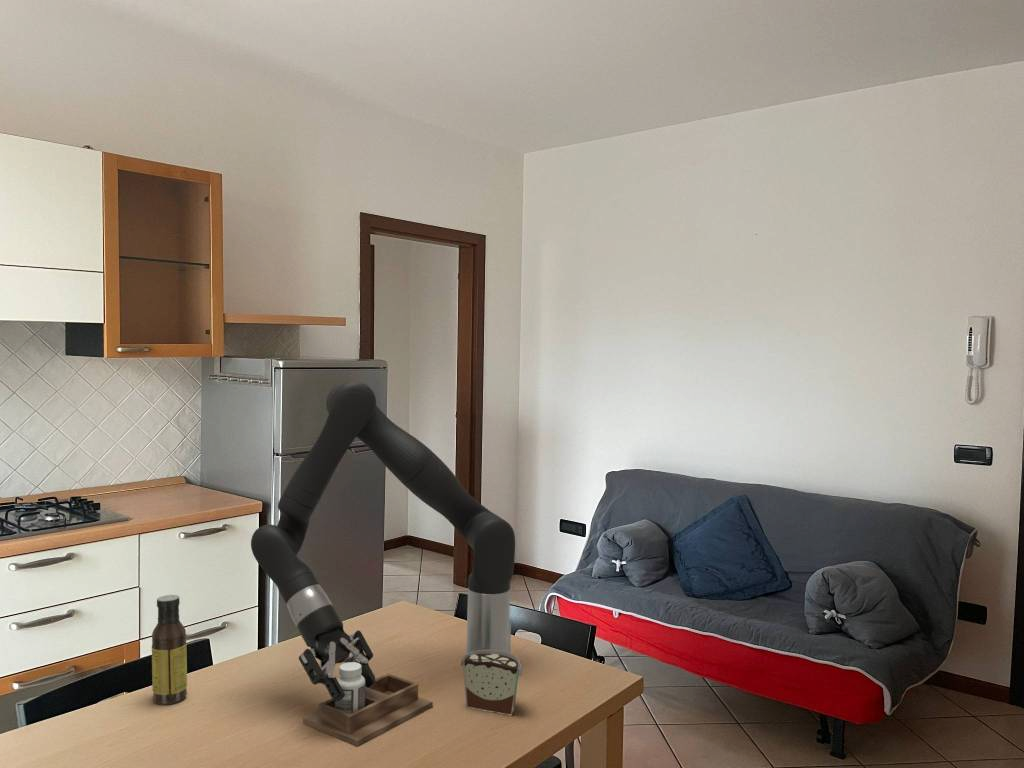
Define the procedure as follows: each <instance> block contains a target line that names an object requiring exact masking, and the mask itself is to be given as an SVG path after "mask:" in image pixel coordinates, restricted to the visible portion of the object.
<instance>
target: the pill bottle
mask: <svg viewBox="0 0 1024 768" xmlns="http://www.w3.org/2000/svg"><path fill="white" fill-rule="evenodd" d="M338 668H339V669H338V671H339V672H338V675H339V677H336V679H337V681H338V682H339V684H340V686H341V688H342V690H343V692H344V694H345V696H344V697H343V698H342V699H341V700H340V701H338V702H336V701H335V708H336V709H338V710H341V711H343V712H346V713H348V714H351V713H353V712H355V711H358V710H360V709H362V708H364V707H365V679H364V677H363V676H362V675H361V672H362V667H361V664H359V663H356V662H348V663H345V662H343V663H341V664H340V665H339V667H338Z"/></svg>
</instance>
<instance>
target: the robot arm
mask: <svg viewBox="0 0 1024 768" xmlns="http://www.w3.org/2000/svg"><path fill="white" fill-rule="evenodd" d="M325 405H326V411H327V412H328V415H327V418H326V421H325V424H324V426H323V428H322V430H321V432H320V434H319V435H318V437H317V439H316V441H315V443H314V444H313V446H311V449H310V450H309V451H308V453H307V454H306V455H305V457H304V458H303V460H302V461H301V463H299V465H298V467H297V468H296V470H295V471H294V473H293V475H292V476H291V478H290V480H289V482H288V483H287V485H286V487H285V489H284V491H283V493H282V494H281V496H280V498H279V501H278V504H277V508H278V510H279V512H280V517H279V520H278V522H277V525H274V524H264V525H261V526H259V527H258V528H257V529H256V530H255V531H254V532H253V534H252V535H251V539H250V548H251V552H252V555H253V557H254V559H255V560H256V562H257V564H258V565H259V566H260V567H261V569H263V570H262V571H264V572H265V574H266V575H267V576H268V577H269V579H270V580H271V581H272V582H273V583H274V584H275V586H276V587H277V589H278V591H279V594H280V596H281V597H282V600H283V602H284V603H285V605H286V606H287V609H288V612H289V614H290V617H291V619H292V620H293V622H294V625H295V627H296V629H297V630H298V633H299V634H300V635H301V638H302V639H303V641H304V643H305V645H306V646H307V647H309V648H306V649H305V650H304V651H303V652H302V653H301V654H300V655H299V657H298V660H299V663H300V664H301V665H302V667H303V669H304V671H305V672H306V674H307V676H308V678H309V680H310V681H311V684H313V685H315V686H317V685H318V684H322V685H324V686H325V688H326V690H327V692H328V694H329V695H330V698H331V699H332V698H333V699H335V701H336V702H338V701H340V700H341V699H342V698H343V697H344V696H345V694H344V692H343V690H342V688H341V686H340V684H339V682H338V681H337V677H334V676H335V675H334V674H335V673H334V672H335V671H334V670H335V669H334V668H335V666H336V664H343V663H348V662H356V663H359V664H361V667H362V672H361V675H362V676H363V677H364V679H365V685H366V687H367V688H369V687H371V686H372V685H373V684H374V683H375V679H376V676H375V675H374V673H373V670H372V669H371V667H370V665H369V661H371V659H373V657H374V653H373V652H372V649H371V647H370V646H369V644H368V642H367V641H366V639H365V637H364V635H363V633H362V631H361V630H356V631H355V632H354V633H352V634H348V633H346V631H345V630H344V623H343V621H342V619H341V617H340V615H339V614H338V612H337V611H336V608H335V606H334V605H333V603H332V601H331V600H330V597H329V596H328V594H327V593H326V592H325V590H324V588H322V586H321V585H320V583H319V581H318V579H317V578H316V576H315V574H314V572H313V571H312V569H311V567H310V566H309V565H308V564H306V563H305V562H303V561H302V560H300V559H299V558H298V556H297V555H298V554H299V552H300V551H301V549H302V546H303V543H304V540H305V537H306V534H307V533H308V528H309V524H310V520H311V518H312V515H313V513H314V511H315V510H316V508H317V506H318V504H319V502H320V500H321V499H322V497H323V495H324V493H325V491H326V489H327V487H328V485H329V484H330V481H331V479H332V477H333V475H334V474H335V472H336V470H337V468H338V466H339V464H340V462H341V461H342V459H343V457H344V456H345V454H346V453H347V451H348V449H349V448H350V446H351V444H352V443H353V442H354V440H355V439H356V438H357V439H358V440H359V441H361V442H362V443H363V444H364V445H365V446H367V447H368V448H369V449H370V450H371V451H372V452H373V453H374V454H375V456H376V457H377V458H378V460H380V461H381V462H382V464H383V465H384V466H385V467H386V468H387V469H388V470H389V471H390V472H391V474H393V475H394V476H395V477H396V478H397V480H398V481H399V482H400V483H402V485H404V487H406V488H407V489H408V491H410V492H411V493H412V494H413V495H415V497H417V498H418V499H419V500H420V501H421V502H423V503H425V504H426V505H427V506H428V507H430V508H431V509H433V510H434V511H436V512H437V513H438V514H440V515H442V516H443V517H444V518H445V519H446V520H447V521H449V523H450V524H451V525H452V527H453V528H454V529H456V531H457V532H458V533H459V534H460V535H461V536H462V538H463V539H464V540H465V542H466V543H467V544H468V546H469V547H470V548H471V549H472V550H473V559H472V560H473V563H472V572H471V573H470V574H469V575H468V581H467V615H466V619H467V620H466V647H465V649H466V650H465V651H466V652H465V655H466V654H467V653H470V652H473V651H478V650H499V651H505V652H508V653H511V638H512V637H511V635H512V634H511V633H512V632H511V631H512V621H511V620H510V608H511V607H510V605H511V601H510V600H511V581H512V579H513V577H514V572H515V571H514V570H515V556H516V554H515V553H516V535H515V531H514V528H513V527H512V525H511V523H509V522H508V521H506V520H505V519H503V518H502V517H500V516H499V515H497V513H494V512H492V511H490V509H488V508H487V507H485V506H484V505H483V504H482V503H480V502H479V500H477V499H475V498H474V497H473V496H472V495H471V494H470V493H468V491H467V490H466V489H465V488H464V486H463V484H461V482H460V481H459V479H458V478H457V476H456V475H455V474H454V472H453V471H452V470H451V469H450V468H449V467H448V465H447V464H446V463H445V462H444V461H443V460H442V459H441V458H440V457H438V455H437V454H436V453H435V452H433V450H431V449H430V448H429V447H428V446H427V445H425V444H424V443H423V442H421V441H420V440H419V439H418V438H417V437H415V436H414V435H411V434H410V433H409V432H407V430H404V429H403V428H401V427H400V426H398V425H397V424H395V423H394V422H393V421H392V420H391V419H390V418H389V417H387V415H386V414H385V413H384V412H383V411H382V410H381V408H379V406H378V405H377V398H376V395H375V392H374V391H373V389H372V387H370V386H369V385H368V384H365V383H363V382H360V381H357V380H356V381H353V380H352V381H351V380H350V381H343V382H341V383H338V384H335V385H334V386H333V387H331V389H330V390H329V391H328V393H327V395H326V403H325ZM350 654H351V655H350ZM318 660H319V663H318Z"/></svg>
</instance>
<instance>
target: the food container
mask: <svg viewBox="0 0 1024 768" xmlns="http://www.w3.org/2000/svg"><path fill="white" fill-rule="evenodd" d="M462 666H463V679H464V691H465V706H466V707H467V708H466V709H470V708H474V709H473V710H476V709H480V710H479V711H481V710H486V711H485V712H487V711H492V712H498V713H499V712H500V713H503V714H511V715H512V714H513V715H514V713H513V712H514V711H515V705H516V699H517V698H516V696H517V689H518V680H519V677H521V676H522V675H523V668H522V664H521V661H520V659H519V657H518V656H517V655H515V654H514V653H512V652H510V653H508V652H505V651H499V650H478V651H473V652H470V653H467V654H466V653H465V654H463V656H462V658H461V663H460V667H462ZM492 712H491V713H492ZM503 714H502V715H503ZM513 715H512V716H513Z"/></svg>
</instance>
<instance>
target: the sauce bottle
mask: <svg viewBox="0 0 1024 768" xmlns="http://www.w3.org/2000/svg"><path fill="white" fill-rule="evenodd" d="M180 604H181V602H180V596H179V595H177V594H167V595H163V596H159V597H157V599H156V607H157V624H156V626H155V628H154V629H153V630H152V633H151V642H152V643H151V667H152V668H151V674H152V675H151V677H152V681H151V682H152V683H151V684H152V687H151V688H152V693H153V696H152V699H153V702H155V703H156V704H157V705H161V706H162V705H174V704H177V703H178V702H180V701H183V700H184V699H185V698H186V697H187V695H188V691H187V690H188V689H187V687H188V665H187V664H188V663H187V662H188V661H187V658H188V655H187V651H188V650H187V637H186V636H187V635H186V634H187V632H186V627H185V626H184V625H183V624H182V622H181V621H180V612H179V611H180V609H179V608H180Z"/></svg>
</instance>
